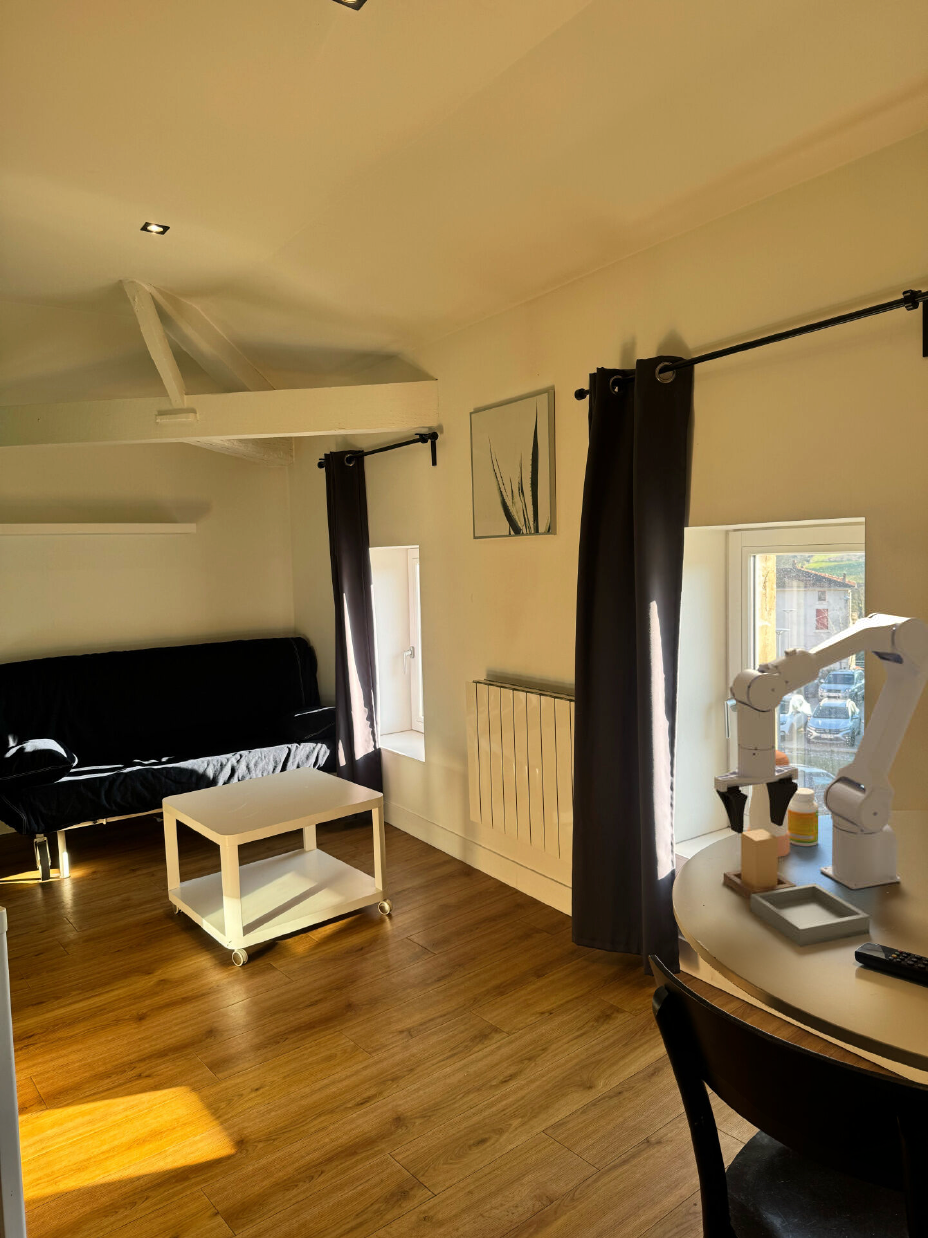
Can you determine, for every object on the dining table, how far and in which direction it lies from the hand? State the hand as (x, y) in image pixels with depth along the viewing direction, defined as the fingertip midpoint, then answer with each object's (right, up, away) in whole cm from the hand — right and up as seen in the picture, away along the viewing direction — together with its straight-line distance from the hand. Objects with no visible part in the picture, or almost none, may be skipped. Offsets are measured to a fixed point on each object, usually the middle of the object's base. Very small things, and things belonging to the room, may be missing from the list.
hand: (756, 827), depth 132 cm
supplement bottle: (+16, -8, +20) cm, 26 cm away
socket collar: (+1, -10, +1) cm, 10 cm away
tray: (+4, -11, -10) cm, 16 cm away
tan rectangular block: (+1, -10, +1) cm, 10 cm away
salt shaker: (+8, -8, +17) cm, 20 cm away
